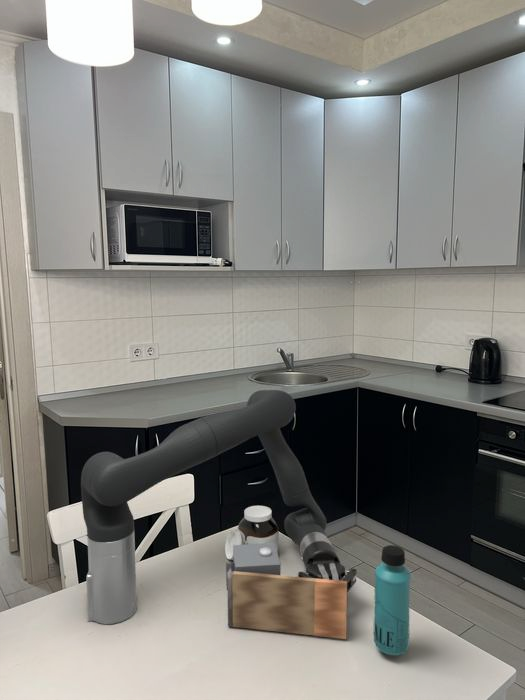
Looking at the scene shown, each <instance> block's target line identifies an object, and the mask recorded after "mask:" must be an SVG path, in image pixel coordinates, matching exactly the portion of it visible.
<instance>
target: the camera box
mask: <svg viewBox="0 0 525 700" xmlns="http://www.w3.org/2000/svg"><path fill="white" fill-rule="evenodd" d="M232 561H233V562H227V563H226V564H225V574H226V575H225V577H226V583H225V584H227V572H228V571H238V572H249V573H260V574H271V575H281V562H280V557H279V554H278V551H277V549H276V546H275V543H264V544H245V545H233V560H232ZM226 591H227V592H228V588H227V587H226Z"/></svg>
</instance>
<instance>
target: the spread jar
mask: <svg viewBox="0 0 525 700" xmlns="http://www.w3.org/2000/svg"><path fill="white" fill-rule="evenodd" d="M243 511H244V512H243V513H244V517H243V518H242V519H241V520H240V521H239V523H238V527H237V530H230V532H229V533H228V535H227V538H226V540H225V546H224V553H225V557H226V559H227V560H230V561H233V545H245V544H264V543H275V546H276V549H277V552H278V550H279V544H280V543H279V541H280V539H279V538H280V535H279V527H278V525H277V523H276V521H275V520H274V518H273V517H272V515H273V513H272V509H271V508H270V507H268V506H265V505H251V506H248V507H246V508H245V509H244V510H243Z"/></svg>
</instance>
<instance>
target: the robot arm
mask: <svg viewBox="0 0 525 700" xmlns="http://www.w3.org/2000/svg"><path fill="white" fill-rule="evenodd" d="M296 408H297V405H296V402H295V399H294V397H293V396H292V395H290V393H288V392H285V391H284V390H280V389H262V390H261V389H260V390H256V391H254V392H253V393H252V394H251V395H250V396H249V398H248V400H247V404H246V406H244V407H241V408H237V409H233V410H227V411H223V412H217V413H214V414H209V415H205V416H202V417H200V418H196V419H195V420H193V421H190V422H188V423H185V424H183V425H180V426H179V427H177V428H176V429H174V430H173V431H172V432H171V433H169V435H168V436H167V437H166V438H165V439H164V440H162V442H161V443H160V444H158V445H157V446H155V447H154V448H152V449H150V450H148V451H145V452H142V453H140V454H138V455H134V456H132V457H128V458H123V457H121V456H120V455H118V454H116V453H115V452H111V451H102V452H97V453H96V454H94V455H92V456H91V457H89V458H88V460H86V462H85V464H84V465H83V468H82V470H81V476H80V489H81V492H80V493H81V503H82V505H81V506H82V515H83V516H82V517H83V520H84V523H85V526H86V534H87V555H88V556H87V557H88V572H87V574H86V579H85V580H86V582H85V583H86V599H87V601H86V603H87V621H89V622H91V621H92V622H96V623H97V624H101V625H102V624H103V625H113V624H118V623H120V622H121V623H122V622H124V621H127V619H129V618H131V617H132V616H133V615H134V613H136V611H137V609H138V608H137V607H138V605H137V604H138V603H137V601H138V600H137V598H138V597H137V577H136V576H137V575H136V574H137V573H136V572H137V571H136V546H135V545H136V542H135V518H134V515H133V513H132V511H131V509H130V506H129V503H128V502H130V501H131V500H133V499H135V498H137V496H140V495H142V494H143V493H144V492H147V491H148V490H150V489H151V488H153V487H154V486H156V485H158V484H159V483H162V482H163V481H165V480H167V479H169V478H171V477H173V476H175V475H178V474H180V473H182V472H185V471H187V470H188V469H191V468H193V467H195V466H198V465H200V464H202V463H205V462H206V461H209V460H210V459H212V458H215V457H217V456H219V455H220V454H222V453H224V452H227V451H228V450H230V449H232V448H234V447H238V445H241V444H243V443H245V442H246V441H248V440H250V439H253V438H254V437H257V436H258V438H259V440H260V442H261V445H262V446H263V448H264V451H265V452H266V455H267V456H268V459H269V462H270V464H271V467H272V469H273V471H274V475H275V478H276V480H277V484H278V486H279V491H280V493H281V497H282V499H283V502H284V504H286V506H288V507H301V506H302V507H305V508H301V509H300V510H297V511H294V512H290V513H289V514H287V516H286V517H285V519H284V523H283V524H284V530H285V532H286V534H287V536H288V537H289V538H290V540H291V541H292V542H293V543H294V544H295V545H297V546H298V547H299V551H300V552H299V553H300V556H301V561H302V563H303V565H304V566H303V567H304V568H305V572H304V571H299V572H298V573H297V575H298V576H297V577H304V578H317V579H328V580H339V581H347V594H348V593H349V591H350V590H351V589H352V588H353V587H354V585H355V584H356V583H357V569H356V568H350V570H348V569H346V567H345V566H344V564H342V563H341V561H340V558H339V556H338V554H337V552H336V550H335V549H334V548H335V547H334V546H333V544H332V542H331V541H330V540H329V538H328V537H327V536H328V535H327V534H326V532H325V530H326V528H327V524H328V523H327V518H326V516H325V514H324V513H323V510H321V508H320V506H319V505H318V503H317V502H316V500H315V499H314V497H313V496H312V493H311V491H310V487H309V484H308V481H307V479H306V475H305V472H304V470H303V467H302V465H301V463H300V462H299V460H298V458H297V456H296V455H295V454H294V453H293V450H292V449H291V448H290V447H289V445H288V444H287V441H286V439H285V438H284V435H283V434H282V433H283V432H282V431H281V428H283V427H285V426H287V425H288V424H289V423H290V422H291V421H292V420H293V418H294V417H295V414H296Z"/></svg>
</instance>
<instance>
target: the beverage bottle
mask: <svg viewBox="0 0 525 700" xmlns="http://www.w3.org/2000/svg"><path fill="white" fill-rule="evenodd" d="M381 552H382V553H381V556H380V557H381V562H382V563H380V564H379V565H378V566H377V567H376V568H375V583H374V584H375V585H374V595H373V597H374V610H373V615H374V620H373V641H374V644H375V645H374V646H375V647H376V648H377V649H378V650H379V651H380V652H381V653H383V654H386V655H389V656H399V655H403V654H405V653H406V652H407V651H408V648H409V645H410V644H409V643H410V638H411V637H410V633H411V632H410V627H411V626H410V618H411V616H410V595H411V593H410V591H411V577H412V575H411V572H410V570H408V568H407V567H406V566H405V563H406V556H405V550H404V549H403V548H402V547H400V546H398V545H393V544H392V545H390V544H389V545H385V546H383V548H382V551H381Z"/></svg>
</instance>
